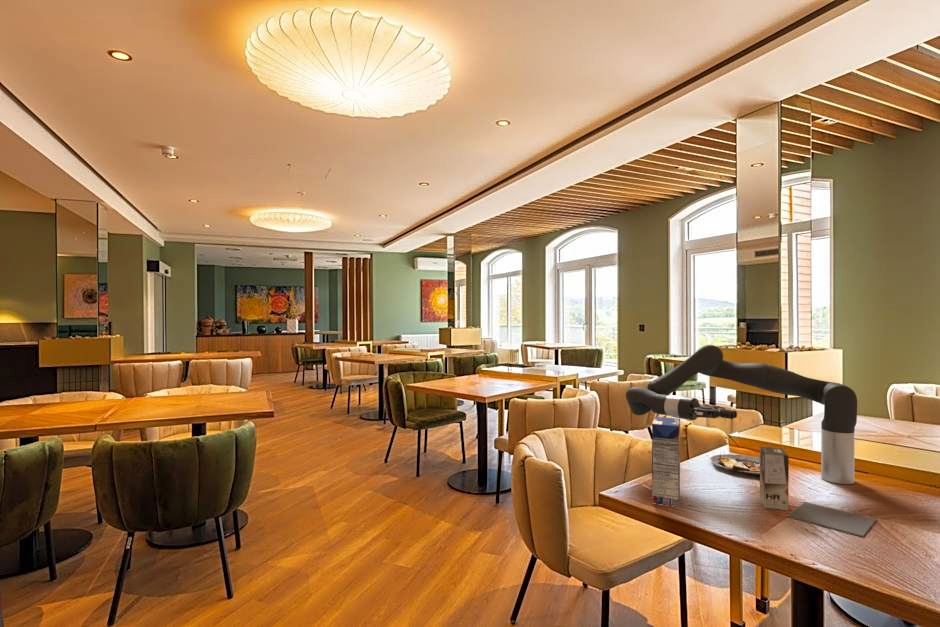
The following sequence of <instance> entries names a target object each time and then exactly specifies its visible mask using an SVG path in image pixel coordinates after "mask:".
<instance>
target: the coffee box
mask: <svg viewBox="0 0 940 627" xmlns="http://www.w3.org/2000/svg"><path fill="white" fill-rule="evenodd" d="M759 458H760V465H759V467H760V475H759V499H760V502H761V503H762V505H763V507H764V508H765V509H774V510H781V511H789V478H790V477H789V472H790V471H789V469H790V467H789V464H790V462H789V460H790V458H789V455H788V454H787V452H786V451H785V450H784V448H780V447H770V446H760V447H759Z"/></svg>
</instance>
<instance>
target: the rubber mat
mask: <svg viewBox="0 0 940 627" xmlns="http://www.w3.org/2000/svg"><path fill="white" fill-rule="evenodd" d="M786 517H787V518H790V519H793V520H797V521H800V522H805V523H809V524H812V525H816V526H819V527H823V528H827V529H831V530H835V531H838V532H841V531H842V533H846V534H849V533H850V535H852V534H853V536H856V535H857V537H859V538H860V537H861V538H864V537H865V536H866V534H867V533H868V532H869V531H870V529H871V528H872V527H873V525H874V524H875V523H876V522H875V521H877V518H873V517H868V516H864V515H861V514H856V513H854V512H853V513H852V512H848V511H844V510H840V509H836V508H832V507H828V506H824V505H819V504H816V503H813V502H812V503H810V502H806V501H803V502H802V504H800V505H799V506H798V507H796V508H795V509H794V510H792V511H791V512H790V513H789V514H788V515H787V516H786ZM874 522H875V523H874ZM871 526H872V527H871ZM867 531H868V532H867Z"/></svg>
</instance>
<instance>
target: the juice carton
mask: <svg viewBox="0 0 940 627" xmlns="http://www.w3.org/2000/svg"><path fill="white" fill-rule="evenodd" d="M651 433H652V434H651V504H652V503H656V504H663V505H669V506H674V507H673V508H675V507H679V508H680V499H679V498H681V497H680V496H681V494H680V493H681V486H680V485H681V418H675V417H663V416H655V417H654V419H653V421H652V424H651Z"/></svg>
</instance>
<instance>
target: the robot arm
mask: <svg viewBox="0 0 940 627" xmlns="http://www.w3.org/2000/svg"><path fill="white" fill-rule="evenodd" d="M697 374H701V375H704V376H707V377H711V378H718V379H724V380H729V381H733V382H736V383H739V384H743V385H747V386H751V387H754V388H758V389H760V390H763V391H767V392H771V393H774V394H778V395H779V394H780V395H786V396H795V397H799V398H800V397H801V398H804V399H806V400H810V401H813V402H816V403H818V404H820V405H823V406H824V409H823V410H824V411H823V412H824V413H823V419H822V420H821V423H820V424H821V428H820V429H821V431H820V432H821V434H820V435H821V441H820V442H821V443H820V445H821V446H820V447H821V448H820V449H821V451H820V452H821V455H820V456H821V457H820V461H821V463H820V464H821V465H820V468H821V471H820V473H821V474H820V476H821V477H820V478H821V479H822V480H824V481H827V482H830V483H834V484H839V485H853V484H855V453H856V452H855V450H856V449H855V446H856V445H855V444H856V443H855V442H856V439H855V430H856V429H855V428H856V425H857V421H858V420H857V419H858V396H857V394H856V392H855V391H854V390H853V389H852V388H851V387H849V386H848V385H845V384H843V383H839V382H833V381H825V380H820V379H815V378H811V377H807V376H804V375H802V374H800V373H796V372H794V371H791V370H788V369H786V368H783V367H779V366H774V365H771V364H767V363H761V362H733V361H730V360H729V361H728V360H724V353H723V351H722V349H721V348H720V347H718V346H716V345H715V344H705V345H703V346H701V347H700V348H698V349H697V350H696V351H695V352H694V353H693V354H691V356H689V357H688V358H686V359H685V360H684V361H682V362H681V363H679V364H678V365H677V366H675V367H673V368H672V369H671V370H668V371H667V372H665V373H663V374H662V375H660V376H658V377H656V378H655V379H654V380H652V381H650V382H649V383H648V384H647V388H644V387H642V386H633V387H630V388H629V389H627V391H626V392H625V397H626V401H627V404H628V406H629V409H630V411H631V413H632V414H633V415H635V416H643V415H646V414H648V413H649V412H650V411H651V412H653V413H654V414H657V415H661V416H667V417H670V418H677V419H680V420H688V421H695V420H697V418H705V419H706V418H710V419H720V418H723V419H729V420H733V419H737V418H738V411H737V410H733V409H726V407H724V406H720V405H716V404H711V405H710V404H708V403H702V404H701V403H699V400H698V399H697V398H696V397H691V396H690V397H689V396H683V395H671V394H672V393H674V392H675V391H677V389H678V390H679V388H680V387H682V386H683V385H684V384H685V383H686V382H688V381H689V380H690V379H691V378H692V377H694V376H696V375H697Z"/></svg>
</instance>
